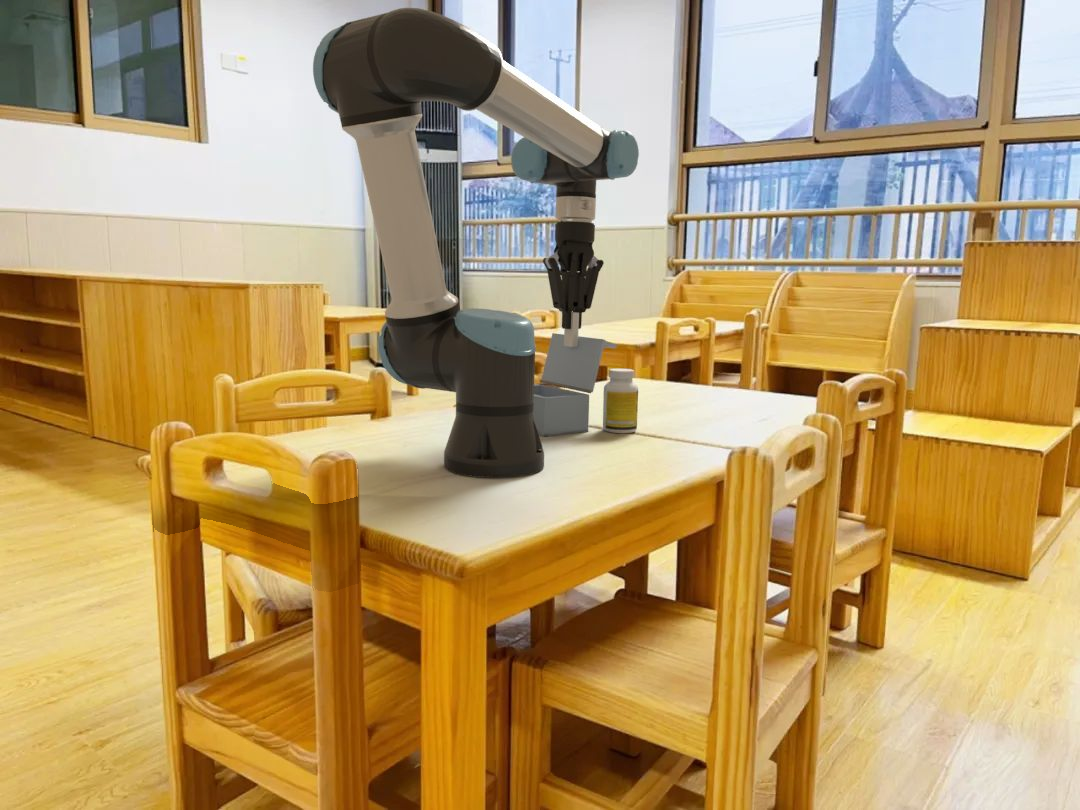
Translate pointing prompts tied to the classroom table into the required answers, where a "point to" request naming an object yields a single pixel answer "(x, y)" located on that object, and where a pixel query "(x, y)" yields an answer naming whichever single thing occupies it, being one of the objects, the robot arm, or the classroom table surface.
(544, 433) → the box
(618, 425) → the pill bottle
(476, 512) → the classroom table surface
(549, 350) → the lid
